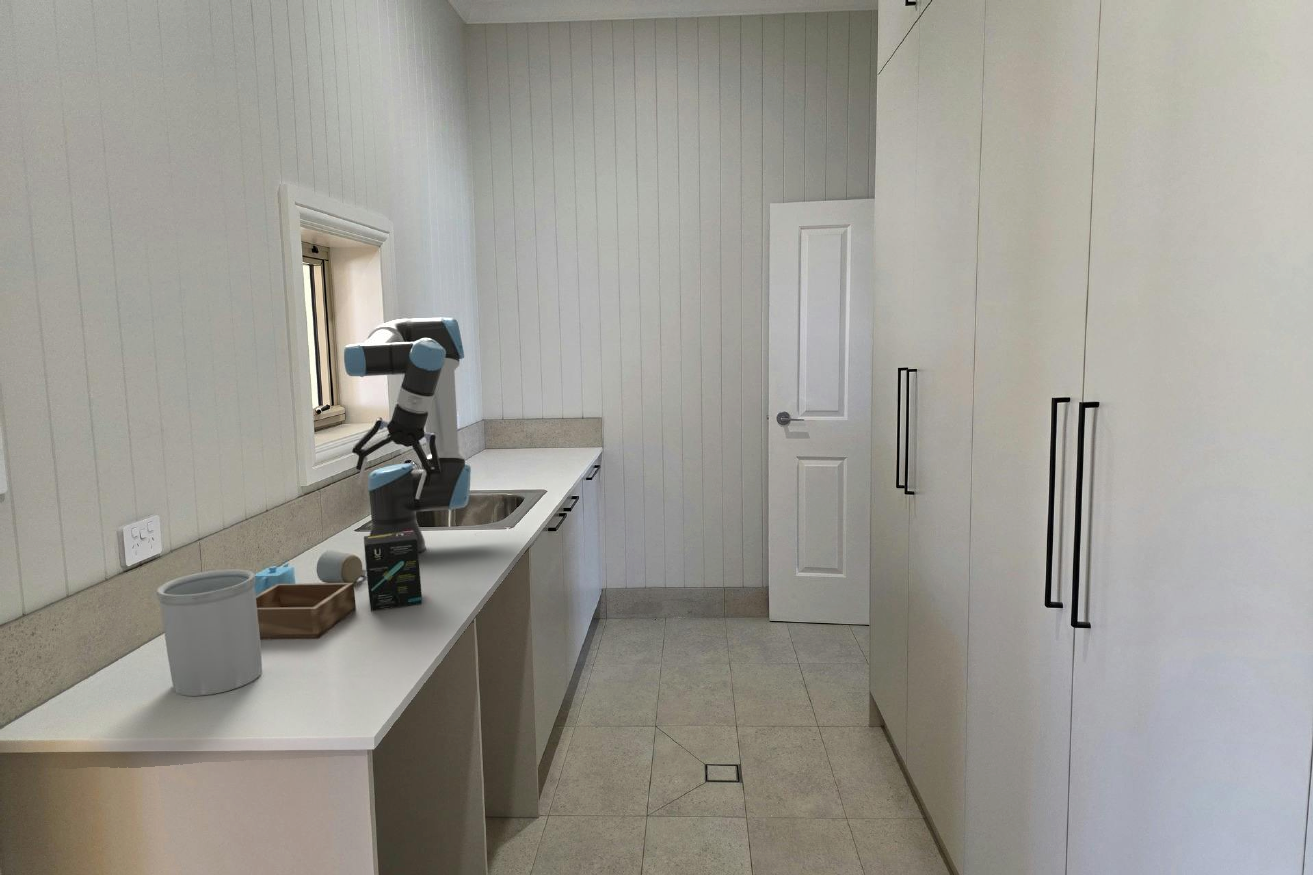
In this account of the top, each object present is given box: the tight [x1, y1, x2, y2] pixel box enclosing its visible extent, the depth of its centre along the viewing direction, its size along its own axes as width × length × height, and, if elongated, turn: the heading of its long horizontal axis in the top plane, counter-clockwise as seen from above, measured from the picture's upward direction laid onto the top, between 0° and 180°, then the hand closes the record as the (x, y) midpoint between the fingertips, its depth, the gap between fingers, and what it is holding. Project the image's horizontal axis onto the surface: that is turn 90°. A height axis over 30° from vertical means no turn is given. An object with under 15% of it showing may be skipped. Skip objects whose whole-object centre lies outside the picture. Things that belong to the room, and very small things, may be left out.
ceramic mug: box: [316, 549, 367, 584], centre depth 204 cm, size 11×8×8 cm
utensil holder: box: [156, 568, 263, 697], centre depth 145 cm, size 15×15×18 cm
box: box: [255, 582, 357, 640], centre depth 174 cm, size 17×17×6 cm
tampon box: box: [363, 530, 423, 612], centre depth 186 cm, size 11×9×15 cm
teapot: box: [254, 562, 296, 596], centre depth 192 cm, size 12×6×8 cm, turn 176°
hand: (388, 489), depth 201 cm, fingers open, 13 cm apart
